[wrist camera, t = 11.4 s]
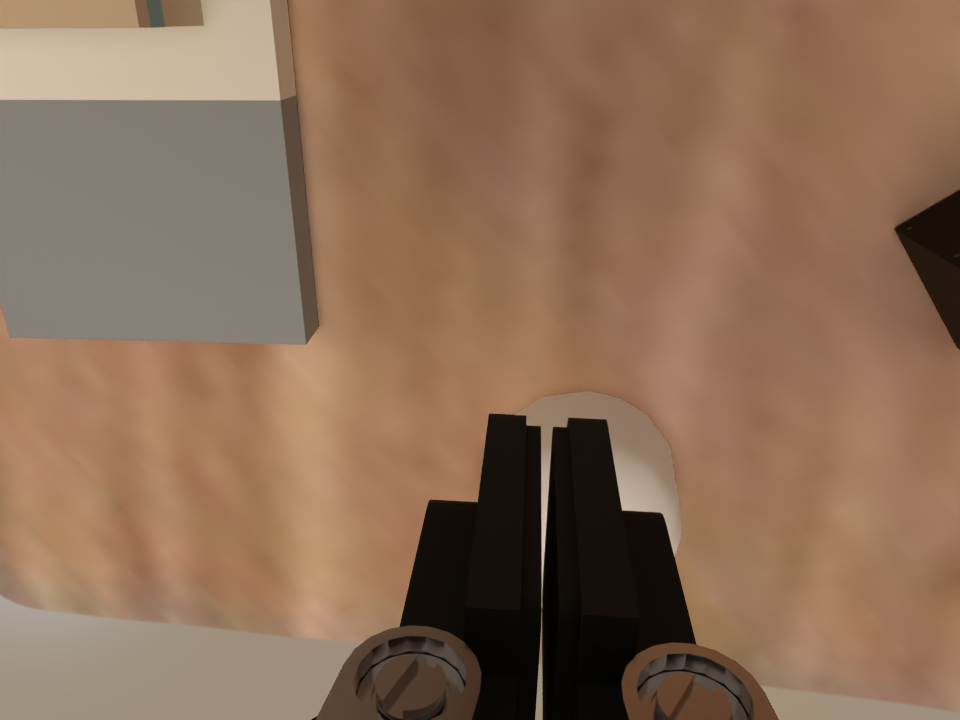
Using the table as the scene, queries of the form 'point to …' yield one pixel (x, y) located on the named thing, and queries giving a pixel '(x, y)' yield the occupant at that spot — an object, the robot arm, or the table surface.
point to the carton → (100, 13)
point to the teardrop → (615, 454)
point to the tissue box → (938, 257)
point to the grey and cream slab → (155, 182)
